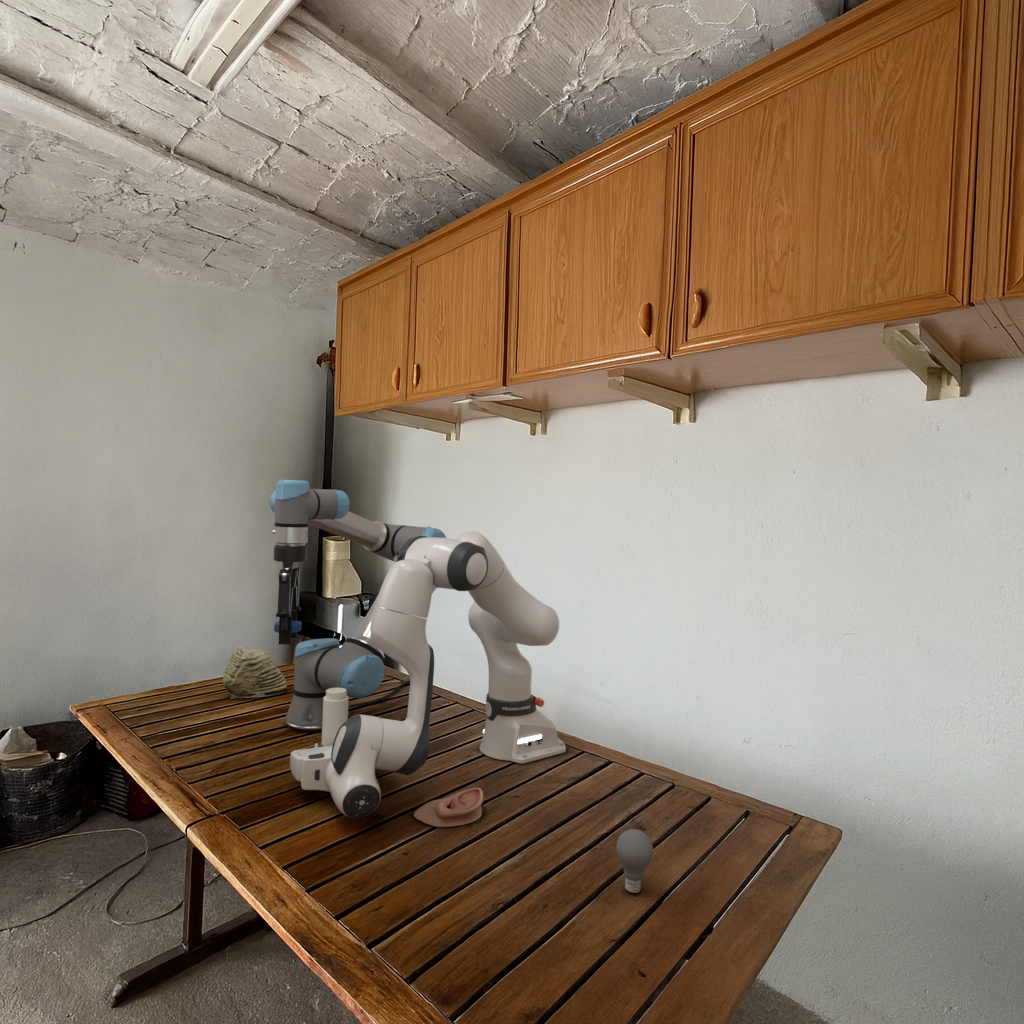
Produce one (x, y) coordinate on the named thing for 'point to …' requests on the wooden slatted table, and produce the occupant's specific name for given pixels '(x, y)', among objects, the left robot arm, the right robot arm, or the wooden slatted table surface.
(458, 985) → the wooden slatted table surface
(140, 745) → the wooden slatted table surface
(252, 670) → the fossil
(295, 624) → the lid
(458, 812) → the anatomical model
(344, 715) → the bottle
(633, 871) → the light bulb
